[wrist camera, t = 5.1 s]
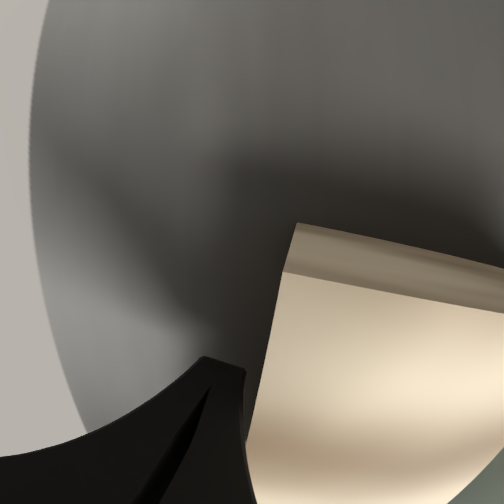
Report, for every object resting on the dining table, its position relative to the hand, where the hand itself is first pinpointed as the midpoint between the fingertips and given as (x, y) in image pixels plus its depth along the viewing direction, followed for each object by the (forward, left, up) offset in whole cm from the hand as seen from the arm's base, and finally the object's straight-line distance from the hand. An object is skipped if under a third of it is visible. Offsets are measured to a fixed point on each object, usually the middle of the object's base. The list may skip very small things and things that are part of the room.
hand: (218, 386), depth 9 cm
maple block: (0, -5, -2) cm, 6 cm away
